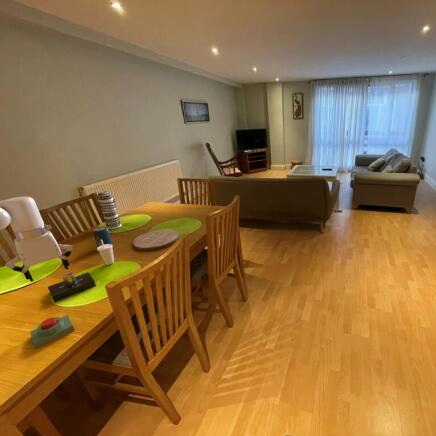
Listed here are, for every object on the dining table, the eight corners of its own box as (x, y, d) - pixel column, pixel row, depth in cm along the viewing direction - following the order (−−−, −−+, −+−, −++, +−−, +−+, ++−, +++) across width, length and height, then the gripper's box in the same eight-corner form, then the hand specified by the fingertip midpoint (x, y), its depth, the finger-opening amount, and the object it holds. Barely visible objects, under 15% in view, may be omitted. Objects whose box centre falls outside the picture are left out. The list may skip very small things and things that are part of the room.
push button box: (35, 349, 78) (30, 340, 76) (32, 336, 83) (27, 327, 81) (75, 330, 85) (71, 321, 84) (69, 319, 90) (66, 310, 88)
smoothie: (99, 267, 121) (91, 242, 116) (106, 260, 127) (98, 236, 122) (114, 265, 123) (106, 241, 117) (119, 259, 128) (112, 235, 123)
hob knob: (66, 287, 102) (62, 277, 100) (65, 283, 104) (61, 274, 102) (77, 283, 105) (73, 274, 103) (75, 279, 107) (72, 270, 105)
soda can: (113, 243, 145) (107, 225, 140) (112, 247, 140) (106, 229, 135) (98, 246, 141) (92, 227, 137) (98, 251, 136) (91, 232, 132)
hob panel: (54, 302, 98) (51, 296, 96) (50, 292, 104) (47, 286, 102) (96, 285, 108) (94, 280, 106) (90, 277, 114) (88, 271, 112)
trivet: (187, 233, 158) (187, 230, 157) (162, 252, 135) (161, 249, 134) (153, 230, 162) (153, 228, 161) (123, 248, 139) (122, 245, 138)
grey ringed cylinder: (123, 226, 168) (113, 192, 158) (107, 230, 161) (96, 195, 152) (120, 222, 173) (110, 189, 164) (104, 226, 167) (93, 192, 158)
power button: (43, 331, 80) (41, 327, 79) (42, 325, 82) (40, 322, 82) (58, 324, 83) (56, 320, 82) (56, 319, 85) (54, 315, 84)
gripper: (61, 222, 91) (76, 260, 98) (-8, 238, 79) (14, 281, 85) (66, 227, 87) (81, 267, 94) (-6, 244, 74) (17, 289, 81)
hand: (49, 273), depth 89 cm, fingers open, 9 cm apart
